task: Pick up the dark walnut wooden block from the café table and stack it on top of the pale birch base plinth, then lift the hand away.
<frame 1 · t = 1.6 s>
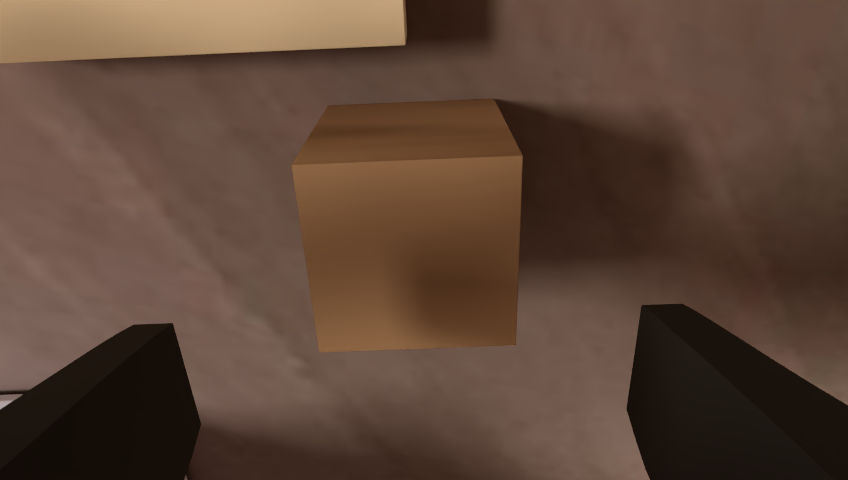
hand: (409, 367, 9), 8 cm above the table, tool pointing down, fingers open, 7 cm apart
walnut block: (414, 179, 17), on the table
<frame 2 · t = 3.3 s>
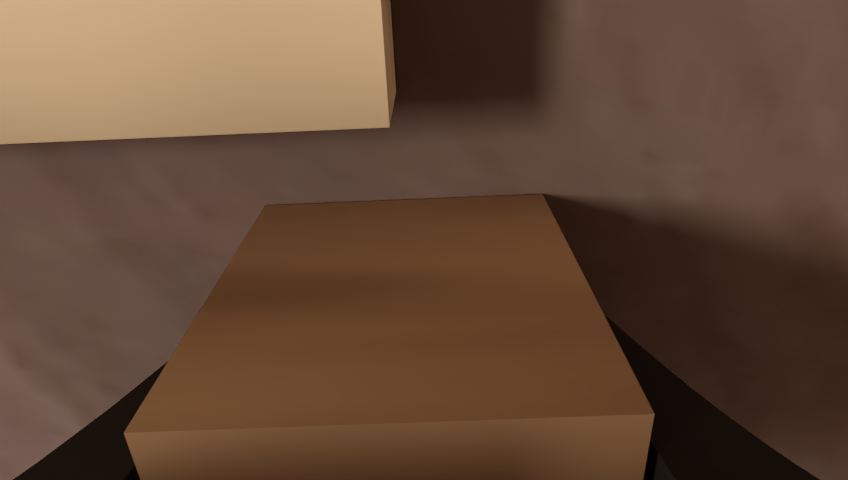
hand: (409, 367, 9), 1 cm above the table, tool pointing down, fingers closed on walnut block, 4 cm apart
walnut block: (410, 316, 10), on the table, touching gripper
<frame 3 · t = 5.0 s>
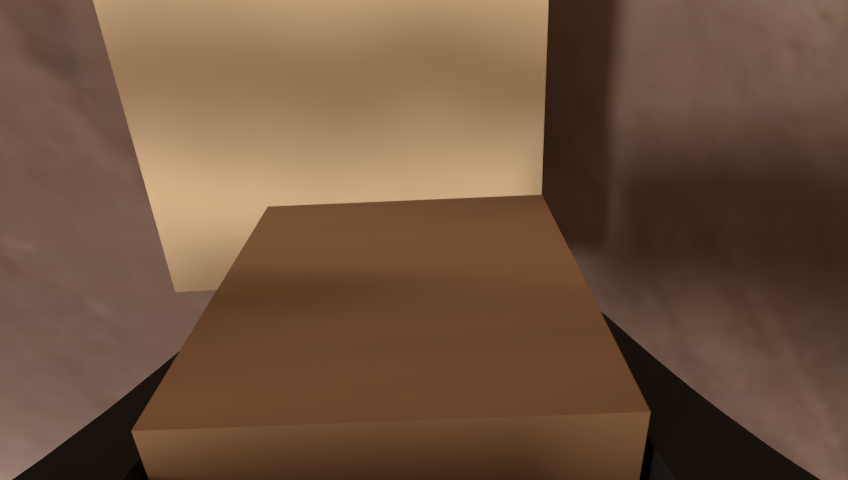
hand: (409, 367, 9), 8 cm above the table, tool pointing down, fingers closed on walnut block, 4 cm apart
birch base: (343, 83, 15), on the table
walnut block: (411, 315, 10), point 7 cm above the table, touching gripper
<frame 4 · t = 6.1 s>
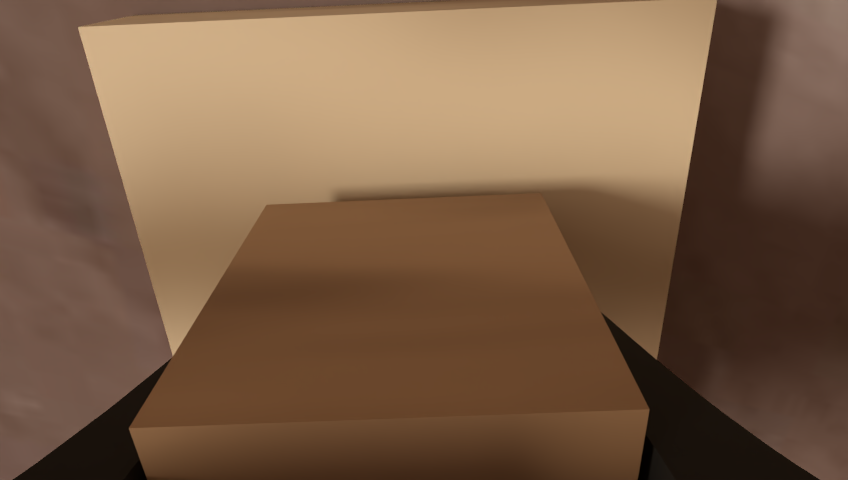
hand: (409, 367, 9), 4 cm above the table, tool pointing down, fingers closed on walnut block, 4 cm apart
birch base: (413, 242, 13), on the table
walnut block: (410, 314, 10), point 3 cm above the table, touching gripper
when the fingers open (4 cm above the table, at t = 6.8 s): walnut block stays where it is, resting on birch base.
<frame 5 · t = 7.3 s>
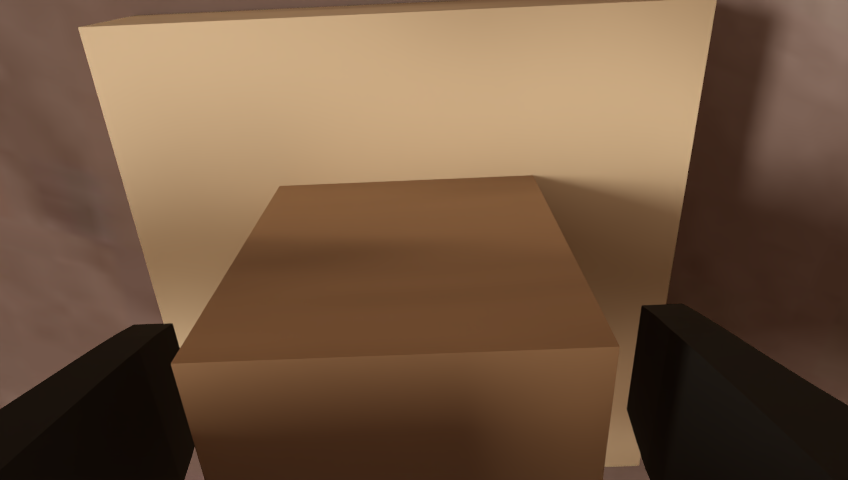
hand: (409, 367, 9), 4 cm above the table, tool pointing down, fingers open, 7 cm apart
birch base: (412, 242, 13), on the table
walnut block: (412, 289, 11), point 2 cm above the table, touching birch base
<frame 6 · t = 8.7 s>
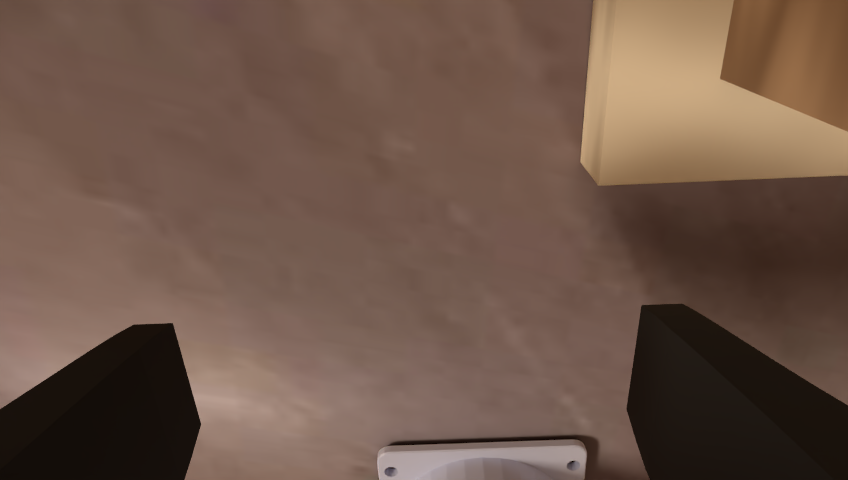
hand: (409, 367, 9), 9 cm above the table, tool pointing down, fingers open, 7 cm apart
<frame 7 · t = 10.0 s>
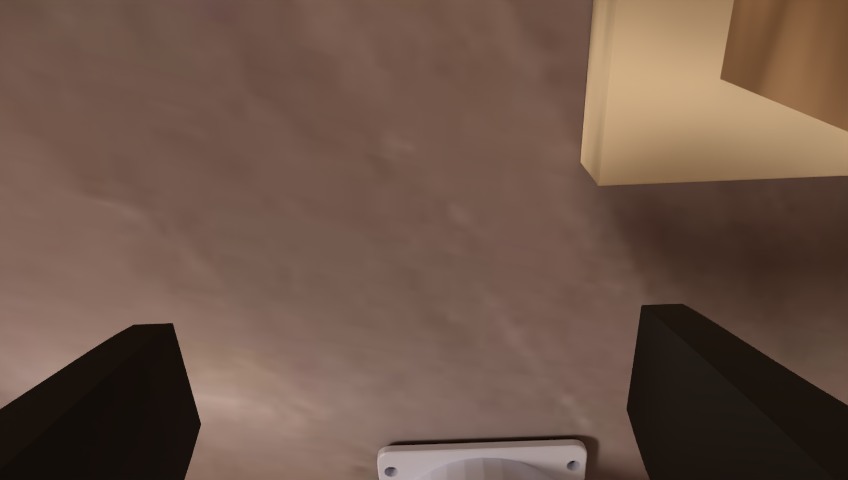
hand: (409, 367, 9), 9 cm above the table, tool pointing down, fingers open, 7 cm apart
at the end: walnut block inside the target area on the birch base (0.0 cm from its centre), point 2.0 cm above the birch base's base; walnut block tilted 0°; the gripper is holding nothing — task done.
